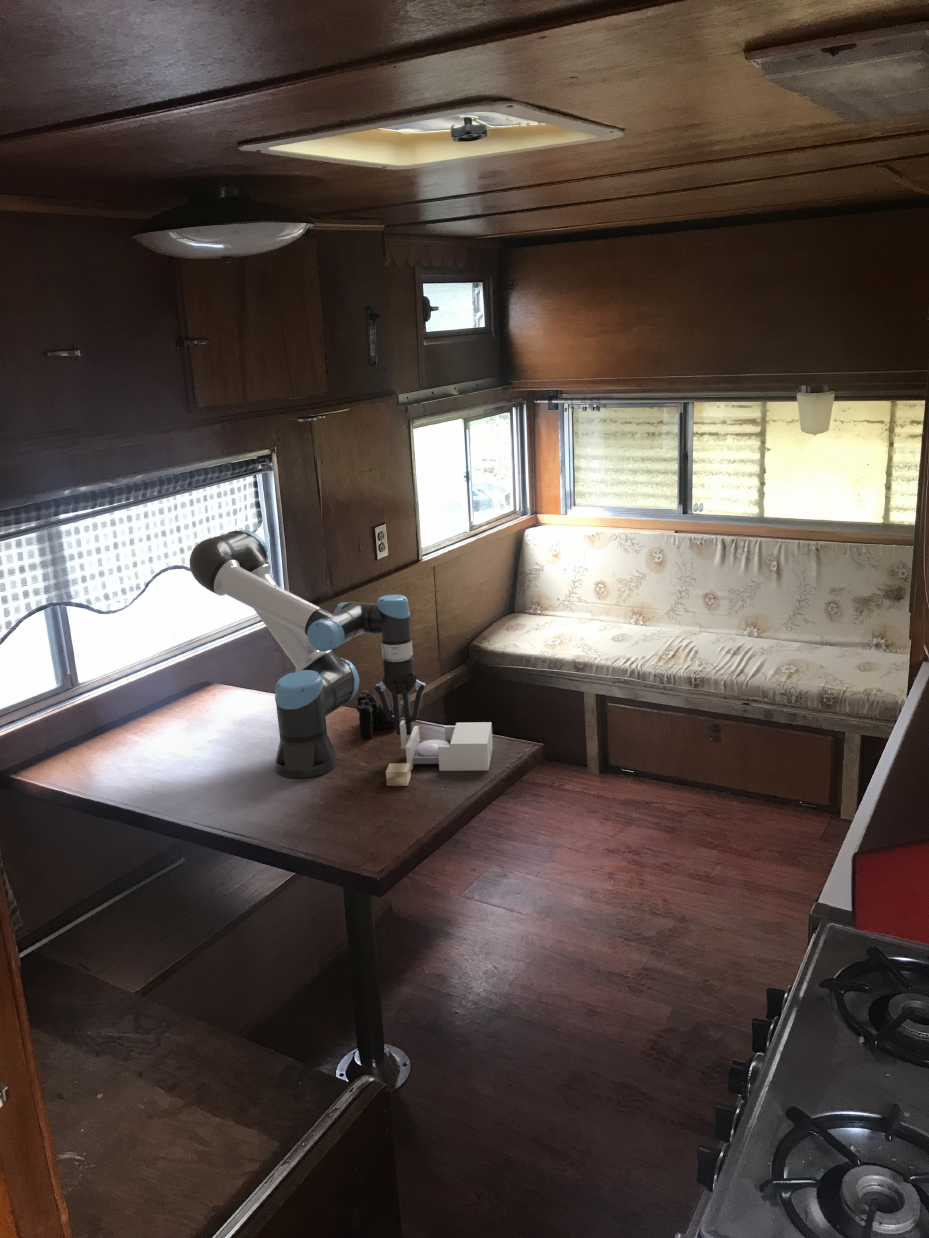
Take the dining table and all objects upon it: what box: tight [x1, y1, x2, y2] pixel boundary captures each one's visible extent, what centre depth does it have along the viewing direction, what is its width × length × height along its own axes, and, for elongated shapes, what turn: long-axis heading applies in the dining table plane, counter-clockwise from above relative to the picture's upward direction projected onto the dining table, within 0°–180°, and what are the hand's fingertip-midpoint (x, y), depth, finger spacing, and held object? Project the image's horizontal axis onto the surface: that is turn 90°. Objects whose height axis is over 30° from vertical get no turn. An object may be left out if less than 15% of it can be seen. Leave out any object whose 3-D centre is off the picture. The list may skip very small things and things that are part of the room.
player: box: [438, 721, 494, 772], centre depth 246 cm, size 12×14×7 cm
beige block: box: [385, 762, 412, 787], centre depth 236 cm, size 5×5×4 cm
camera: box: [355, 689, 396, 740], centre depth 268 cm, size 14×11×10 cm
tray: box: [405, 725, 451, 770], centre depth 247 cm, size 12×14×6 cm
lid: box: [418, 739, 449, 757], centre depth 247 cm, size 8×8×2 cm
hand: (405, 746), depth 250 cm, fingers closed
